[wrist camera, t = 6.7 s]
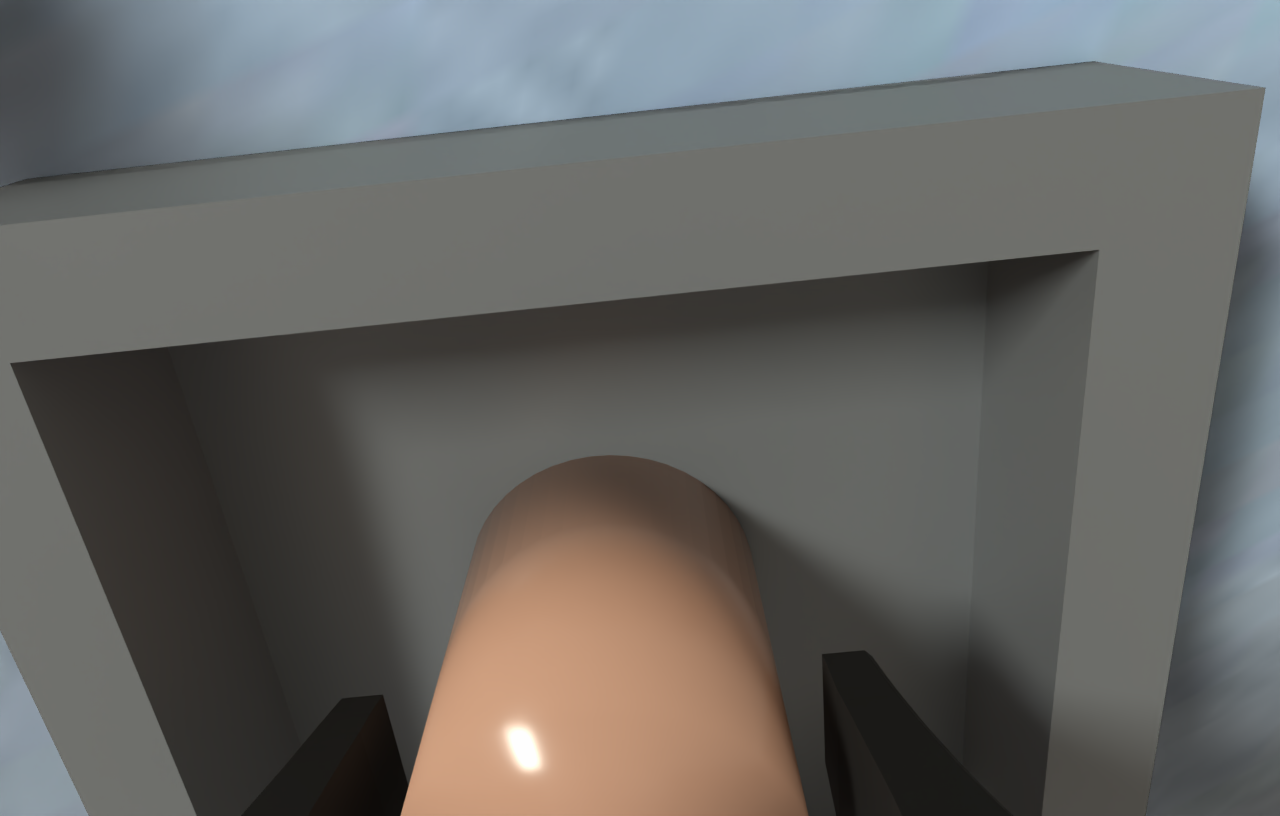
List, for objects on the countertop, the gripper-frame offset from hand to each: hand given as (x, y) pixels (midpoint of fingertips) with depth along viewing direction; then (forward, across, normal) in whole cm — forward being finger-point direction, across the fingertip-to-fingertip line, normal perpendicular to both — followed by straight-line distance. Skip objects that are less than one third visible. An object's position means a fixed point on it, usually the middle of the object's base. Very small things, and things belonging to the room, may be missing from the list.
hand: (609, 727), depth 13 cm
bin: (+4, 0, 0) cm, 4 cm away
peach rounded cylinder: (+3, 0, 0) cm, 3 cm away
